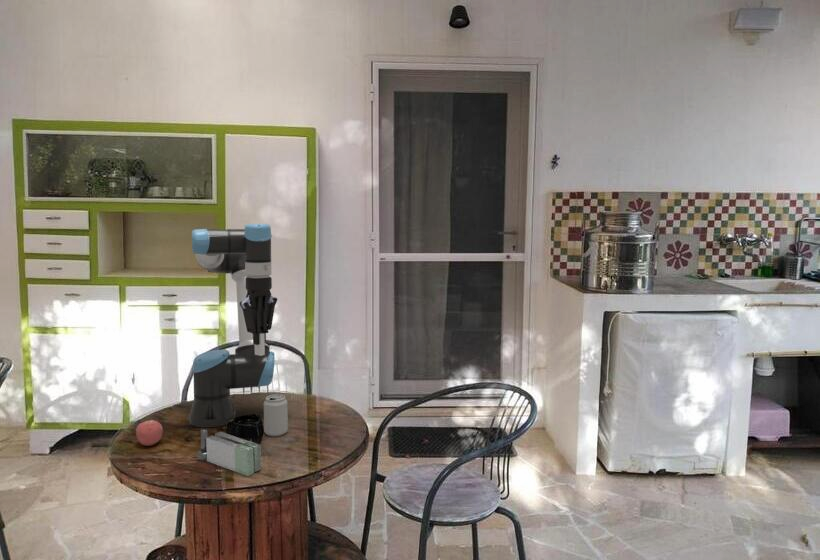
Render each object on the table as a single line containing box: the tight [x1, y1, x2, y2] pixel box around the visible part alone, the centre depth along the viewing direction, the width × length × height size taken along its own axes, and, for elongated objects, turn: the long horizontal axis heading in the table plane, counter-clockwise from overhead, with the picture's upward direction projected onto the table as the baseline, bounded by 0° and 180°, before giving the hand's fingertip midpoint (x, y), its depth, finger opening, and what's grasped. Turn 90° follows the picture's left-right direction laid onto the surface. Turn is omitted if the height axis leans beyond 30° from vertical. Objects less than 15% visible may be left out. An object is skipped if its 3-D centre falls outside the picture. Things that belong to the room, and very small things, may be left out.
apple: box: [135, 418, 164, 447], centre depth 187 cm, size 7×7×8 cm
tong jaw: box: [214, 431, 262, 473], centre depth 173 cm, size 17×2×7 cm, turn 55°
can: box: [263, 394, 289, 437], centre depth 197 cm, size 8×8×12 cm
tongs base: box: [196, 428, 255, 477], centre depth 172 cm, size 21×4×8 cm, turn 56°
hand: (259, 354), depth 184 cm, fingers closed
